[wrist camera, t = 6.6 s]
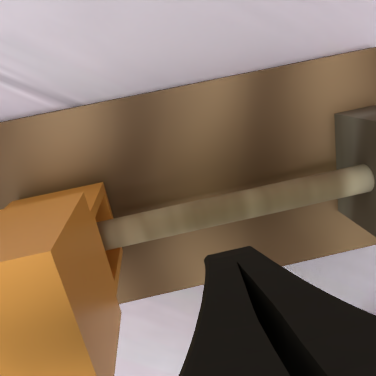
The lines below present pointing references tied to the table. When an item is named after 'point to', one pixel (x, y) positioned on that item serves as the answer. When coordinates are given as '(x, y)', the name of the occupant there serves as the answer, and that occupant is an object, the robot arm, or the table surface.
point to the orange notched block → (58, 286)
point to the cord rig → (215, 168)
